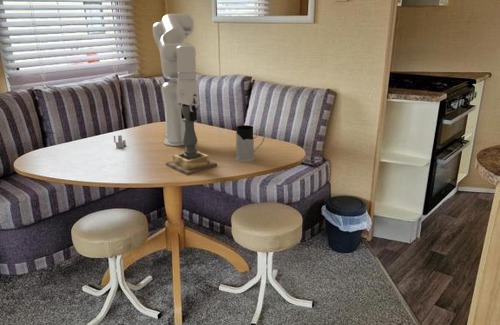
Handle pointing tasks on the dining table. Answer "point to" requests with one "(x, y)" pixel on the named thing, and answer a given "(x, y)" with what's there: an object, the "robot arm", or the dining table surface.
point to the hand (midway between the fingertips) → (189, 119)
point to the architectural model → (120, 142)
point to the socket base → (191, 163)
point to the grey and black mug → (245, 143)
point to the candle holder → (189, 135)
